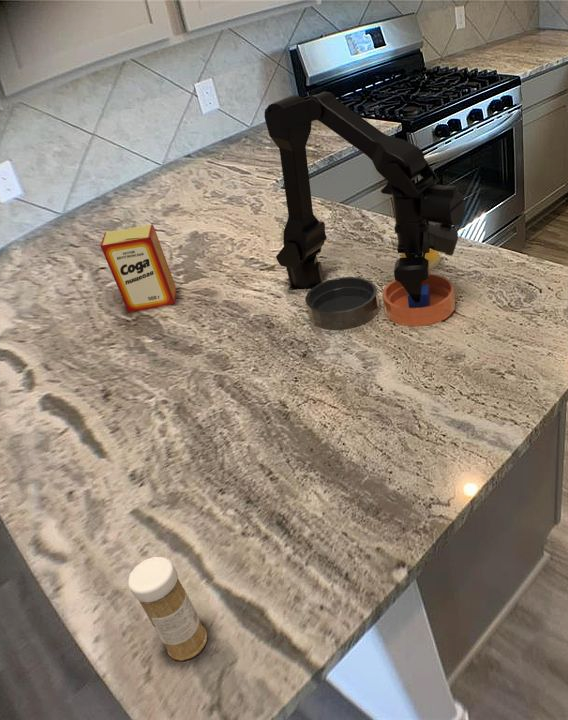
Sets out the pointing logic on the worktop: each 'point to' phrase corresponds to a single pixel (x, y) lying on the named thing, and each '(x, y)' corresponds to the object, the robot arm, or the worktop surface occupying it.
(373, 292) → the charcoal bowl
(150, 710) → the worktop surface
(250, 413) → the worktop surface
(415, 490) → the worktop surface
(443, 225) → the robot arm
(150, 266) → the baking soda box
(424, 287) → the blue block
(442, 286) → the terracotta bowl
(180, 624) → the sprinkles bottle
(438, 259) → the bread roll
